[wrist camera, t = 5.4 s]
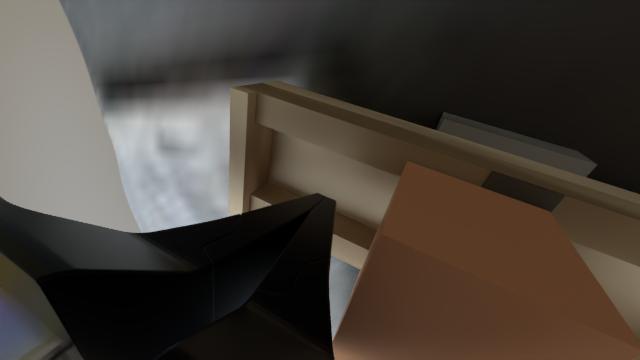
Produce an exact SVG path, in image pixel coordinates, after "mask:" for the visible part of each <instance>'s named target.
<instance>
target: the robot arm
mask: <svg viewBox="0 0 640 360" xmlns="http://www.w3.org/2000/svg"><path fill="white" fill-rule="evenodd" d="M335 212H336V200H334V199H331V198H329V197H326V196H324V195H322V194H320V193H314V194H311V195H307V196H303V197H300V198H296V199H292V200H289V201H285V202H281V203H278V204H274V205H270V206H266V207H263V208H259V209H255V210H252V211H248V212H244V213H241V214H237V215H233V216H229V217H225V218H221V219H217V220H213V221H208V222H203V223H198V224H193V225H188V226H182V227H177V228H172V229H166V230H161V231H156V232H149V233H129V232H123V231H118V230H114V229H109V228H105V227H101V226H96V225H92V224H87V223H83V222H78V221H74V220H69V219H65V218H61V217H56V216H52V215H48V214H43V213H39V212H35V211H32V210H28V209H24V208H21V207H19V206H16V205H13V204H11V203H9V202H7V201H6V200H4V199H3V198H1V197H0V360H335V358H334V352H333V344H332V332H331V317H330V301H329V270H330V259H331V250H332V240H333V231H334V221H335Z"/></svg>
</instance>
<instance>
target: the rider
mask: <svg viewBox="0 0 640 360" xmlns="http://www.w3.org/2000/svg"><path fill="white" fill-rule="evenodd" d="M332 344H333V352H334V358H335V360H633V359H635V358H637V357H639V356H640V342H639V341H638V339H637V338H636V336H635V335H634V333H633V332H632V330H631V329H630V327H629V326H628V325H627V323H626V322H625V320H624V319H623V317H622V316H621V314H620V313H619V311H618V310H617V309H616V307H615V306H614V304H613V303H612V301H611V300H610V298H609V297H608V295H607V294H606V293H605V291H604V290H603V288H602V287H601V285H600V284H599V282H598V281H597V279H596V278H595V276H594V275H593V274H592V272H591V271H590V269H589V268H588V266H587V265H586V263H585V262H584V260H583V259H582V258H581V256H580V255H579V253H578V252H577V250H576V249H575V247H574V246H573V244H572V243H571V242H570V240H569V239H568V237H567V236H566V234H565V233H564V231H563V230H562V228H561V227H560V225H559V224H558V223H557V221H556V220H555V218H554V217H553V215H552V214H551V212H550V211H547V210H544V209H541V208H538V207H536V206H533V205H530V204H527V203H524V202H522V201H519V200H516V199H513V198H510V197H508V196H505V195H502V194H499V193H496V192H493V191H491V190H488V189H485V188H482V187H479V186H477V185H474V184H471V183H468V182H465V181H463V180H460V179H457V178H454V177H451V176H448V175H446V174H443V173H440V172H437V171H434V170H432V169H429V168H426V167H423V166H420V165H418V164H415V163H412V162H409V161H407V163H406V165H405V167H404V170H403V172H402V174H401V177H400V179H399V181H398V184H397V186H396V188H395V191H394V193H393V195H392V198H391V200H390V202H389V205H388V207H387V209H386V212H385V214H384V216H383V219H382V221H381V223H380V226H379V228H378V230H377V233H376V235H375V237H374V240H373V242H372V244H371V247H370V249H369V251H368V254H367V256H366V258H365V261H364V263H363V265H362V268H361V270H360V273H359V276H358V278H357V281H356V283H355V286H354V288H353V291H352V293H351V296H350V298H349V301H348V303H347V306H346V308H345V311H344V313H343V316H342V319H341V321H340V324H339V326H338V329H337V331H336V334H335V336H334V339H333V341H332Z"/></svg>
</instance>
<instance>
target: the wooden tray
mask: <svg viewBox="0 0 640 360" xmlns="http://www.w3.org/2000/svg"><path fill="white" fill-rule="evenodd" d="M407 161H409V162H412V163H415V164H418V165H420V166H423V167H426V168H429V169H432V170H434V171H437V172H440V173H443V174H446V175H448V176H451V177H454V178H457V179H460V180H463V181H465V182H468V183H471V184H474V185H477V186H479V187H482V188H485V189H488V190H491V191H493V192H496V193H499V194H502V195H505V196H508V197H510V198H513V199H516V200H519V201H522V202H524V203H527V204H530V205H533V206H536V207H538V208H541V209H544V210H547V211H550V212H551V214H552V215H553V217H554V218H555V220H556V221H557V223H558V224H559V225H560V227H561V228H562V230H563V231H564V233H565V234H566V236H567V237H568V239H569V240H570V242H571V243H572V244H573V246H574V247H575V249H576V250H577V252H578V253H579V255H580V256H581V258H582V259H583V260H584V262H585V263H586V265H587V266H588V268H589V269H590V271H591V272H592V274H593V275H594V276H595V278H596V279H597V281H598V282H599V284H600V285H601V287H602V288H603V290H604V291H605V293H606V294H607V295H608V297H609V298H610V300H611V301H612V303H613V304H614V306H615V307H616V309H617V310H618V311H619V313H620V314H621V316H622V317H623V319H624V320H625V322H626V323H627V325H628V326H629V327H630V329H631V330H632V332H633V333H634V335H635V336H636V338H637V339H638V341H639V342H640V194H638V193H634V192H631V191H628V190H625V189H622V188H618V187H615V186H612V185H609V184H606V183H602V182H599V181H596V180H593V179H590V178H586V177H587V176H588V175H589V174H590V172H591V171H592V170H593V169H594V168H595V167H596V166H597V164H596V163H594V162H593V161H591V160H590V159H588V158H587V157H586V156H584V155H583V154H581V153H580V152H578V151H576V150H573V149H569V148H566V147H562V146H559V145H555V144H552V143H549V142H545V141H542V140H538V139H535V138H531V137H528V136H525V135H521V134H518V133H514V132H511V131H507V130H504V129H501V128H497V127H494V126H490V125H487V124H483V123H480V122H477V121H473V120H470V119H466V118H463V117H459V116H456V115H453V114H449V113H446V112H444V113H443V115H442V117H441V119H440V121H439V124H438V126H437V128H436V130H433V129H430V128H427V127H424V126H420V125H417V124H414V123H411V122H408V121H404V120H401V119H398V118H395V117H392V116H388V115H385V114H382V113H379V112H376V111H373V110H369V109H366V108H363V107H360V106H357V105H353V104H350V103H347V102H344V101H341V100H337V99H334V98H331V97H328V96H325V95H321V94H318V93H315V92H312V91H309V90H305V89H302V88H299V87H296V86H293V85H290V84H286V83H283V82H280V81H273V82H266V83H259V84H252V85H244V86H237V87H231V89H230V165H229V213H231V214H233V215H237V214H241V213H244V212H248V211H252V210H255V209H259V208H263V207H266V206H270V205H274V204H278V203H281V202H285V201H289V200H292V199H296V198H300V197H303V196H307V195H311V194H314V193H320V194H322V195H324V196H326V197H329V198H331V199H334V200H336V212H335V221H334V231H333V240H332V250H331V255H333V256H335V257H337V258H339V259H341V260H343V261H345V262H347V263H349V264H351V265H353V266H355V267H357V268H359V269H361V268H362V265H363V263H364V261H365V258H366V256H367V254H368V251H369V249H370V247H371V244H372V242H373V240H374V237H375V235H376V233H377V230H378V228H379V226H380V223H381V221H382V219H383V216H384V214H385V212H386V209H387V207H388V205H389V202H390V200H391V198H392V195H393V193H394V191H395V188H396V186H397V184H398V181H399V179H400V177H401V174H402V172H403V170H404V167H405V165H406V163H407ZM633 360H640V356H639V357H637V358H635V359H633Z"/></svg>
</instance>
